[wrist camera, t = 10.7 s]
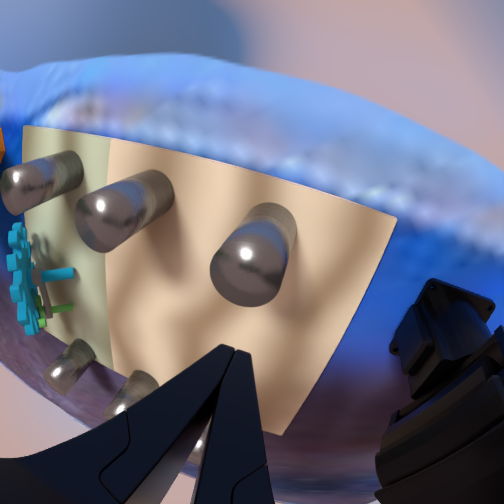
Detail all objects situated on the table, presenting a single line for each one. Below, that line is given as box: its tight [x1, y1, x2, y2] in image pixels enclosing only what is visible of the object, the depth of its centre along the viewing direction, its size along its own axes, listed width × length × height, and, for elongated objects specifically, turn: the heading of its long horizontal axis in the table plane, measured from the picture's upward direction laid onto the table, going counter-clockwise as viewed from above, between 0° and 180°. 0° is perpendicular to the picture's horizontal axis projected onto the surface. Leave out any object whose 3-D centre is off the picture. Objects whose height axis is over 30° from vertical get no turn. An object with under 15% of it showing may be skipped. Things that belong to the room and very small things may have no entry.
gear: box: [6, 222, 74, 336], centre depth 23 cm, size 11×6×10 cm
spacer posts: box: [0, 150, 297, 465], centre depth 22 cm, size 19×23×6 cm
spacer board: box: [22, 125, 397, 436], centre depth 24 cm, size 30×24×1 cm
